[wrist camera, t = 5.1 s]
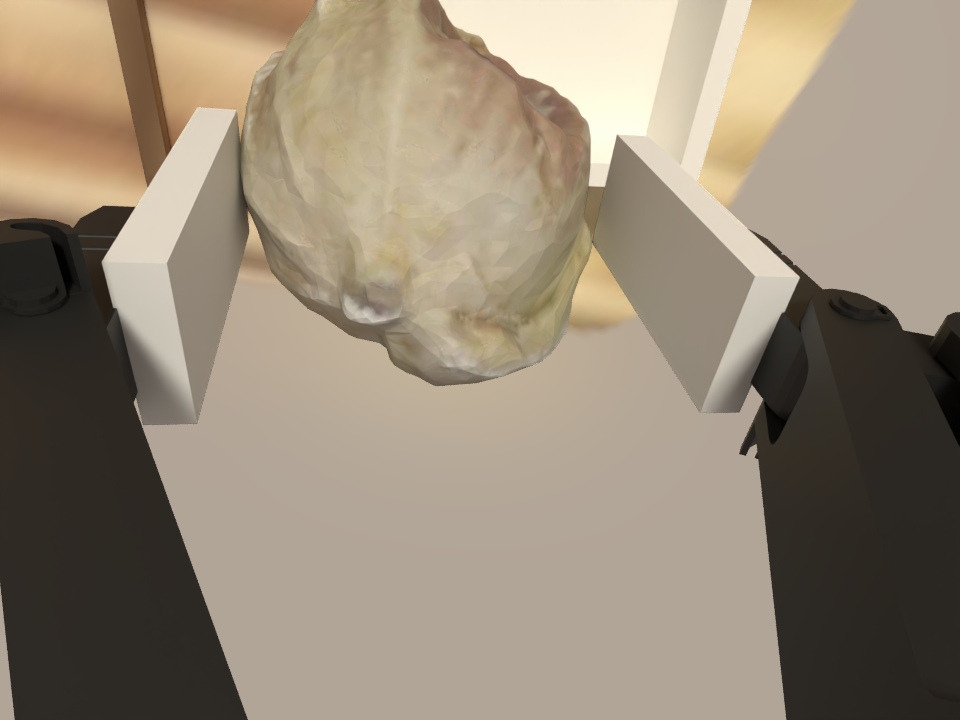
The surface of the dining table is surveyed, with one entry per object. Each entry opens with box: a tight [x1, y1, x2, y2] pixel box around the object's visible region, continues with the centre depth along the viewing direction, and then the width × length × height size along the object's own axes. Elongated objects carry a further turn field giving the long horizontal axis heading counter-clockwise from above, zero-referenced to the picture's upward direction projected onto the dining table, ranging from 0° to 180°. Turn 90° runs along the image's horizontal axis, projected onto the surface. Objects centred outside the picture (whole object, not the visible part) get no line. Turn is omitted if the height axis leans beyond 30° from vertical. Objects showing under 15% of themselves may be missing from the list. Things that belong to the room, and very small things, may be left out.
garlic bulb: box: [240, 0, 592, 386], centre depth 16 cm, size 9×8×10 cm
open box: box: [439, 0, 752, 187], centre depth 26 cm, size 13×13×5 cm
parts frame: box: [107, 0, 171, 187], centre depth 27 cm, size 12×13×1 cm
